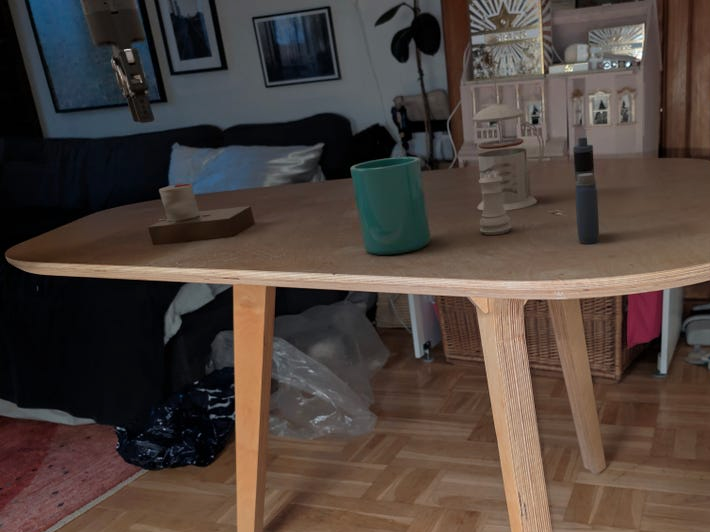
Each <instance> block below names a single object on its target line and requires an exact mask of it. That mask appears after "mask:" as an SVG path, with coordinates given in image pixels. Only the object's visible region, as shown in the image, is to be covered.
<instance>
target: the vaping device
mask: <svg viewBox="0 0 710 532" xmlns="http://www.w3.org/2000/svg"><path fill="white" fill-rule="evenodd" d="M577 141H578V142H577V143H578V144H577V145H576V146H573V149H572V150H573V165H574V166H573V167H574V182H575V183H574V184H575V215H576V226H577V227H576V229H577V236H578V242H579V243H580V244H582V245H583V244H584V245H587V244H588V245H589V244H595V243H598V241H599V236H600V226H599V225H600V223H599V205H598V204H599V203H598V201H599V200H598V199H599V198H598V189H597V182H596V179H595V163H594V162H595V161H594V145H593V144H588V138H587V137H581V138H577Z"/></svg>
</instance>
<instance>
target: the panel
mask: <svg viewBox="0 0 710 532" xmlns="http://www.w3.org/2000/svg"><path fill="white" fill-rule="evenodd" d="M199 214H200V215H199V216H197V217H195V218H191V219H187V220H181V221H168V219H167V217H166V218H161V219H160V218H159V219H157V222H155V223H153V224H151V225H149V226H148V227H147V229H148V233H149V236H150V239H151V242H152V245H153V246H154V245H164V244H174V243H183V242H193V241H203V240H214V239H221V238H222V239H225V238H232V237H235V236H237V235H239V234H240V233H242V232H243V231H244V230H246V229H248V228H249V227H251V226H253V225H254V224H255V218H254V215H253V211H252V206H251V205H248V206H238V207H237V206H236V207H229V208H220V209H219V208H218V209H211V210H210V209H209V210H199Z"/></svg>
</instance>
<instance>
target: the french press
mask: <svg viewBox="0 0 710 532" xmlns="http://www.w3.org/2000/svg"><path fill="white" fill-rule="evenodd" d="M496 44H498V38H497V36H495V35H487V37H486V38H485V39H484V45H488V46H489V45H490V51H491V63H492V64H491V65H492V72H493V83H494V84H493V85H494V93H495V103H494V104H493V105H491V106H488V107H484V108H483V109H481V110H479V111H478V112H477V113H476V114H475V115H474V116H473V117H472V118H471V120H472V121H473V123H493V122H497V123H498V134H499V139H494V140H487V141H483V142H480V143H479V144H478V148H479V149H482V150H488V151H483V152H481V153H479V154H477V159H478V171H479V177H480V178H481V176H480V174H481V173H484V174H486V172H489V174H492V171H496V172H497V171H499V173H501V174H499V175H500V176H501V178H502V181H501V183H500V189H501V190H502V191H501V199H502V203H503V207H504V210H505V211H513V210H519V209H523V208H527V207H531V206H533V205H534V204H536V203H537V201H538V200H537V199H536V198H535V197H534V196H532V190H531V178H530V177H531V176H530V173H531V171H533V170H534V169H536V168H537V167H538V166H539V165H540V164H541V163H542V160H543V158H544V153H545V139H544V138H543V135H542V133H541V131H540V129H539V128H538V127H537V126H535V125H534V124H533V123H531V122H529V121H525V122H523V123H521V125H520V132H521V133H522V134H524V133H526V131H527V128H529V129H530V130H532V131H533V133H534V134H535V136H536V138H537V141H538V146H539V153H538V154H539V155H538V158H537V161H536V163H535V164H534V165H533V166H532V167H531V168H529V164H528V154H527V153H528V152H527V149H526V148H522V147H521V148H520V147H517V146H520V145H522V144H523V143H524V141H525V140H524V139H523V138H521V137H516V138H505V139H504V138H502V133H501V124H500V123H501V122H502V121H508V120H514V119H518V118H523V116H524V115H525V111H524V110H522V109H520V108H519V107H516V106H513V105H509V104H501V103H500V102H498V93H497V83H496V82H497V81H496V71H495V61H494V51H493V50H494V49H493V45H496ZM515 147H516V148H515ZM503 163H504V164H503ZM499 164H501V165H500V166H498V167H495V168H492V167H493V166H495V165H499ZM511 165H512V166H513V165H514V167H509V166H511ZM510 174H515V175H510ZM480 178H479V179H480ZM510 182H515V183H510ZM480 189H481V192H482V191H483V188H482V185H481V184H480ZM481 197H482V200H481V202H480V203H479V204H478V205H477V207H476V209H478V210H479V211H483V205H484V199H483V194H482V193H481Z"/></svg>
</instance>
